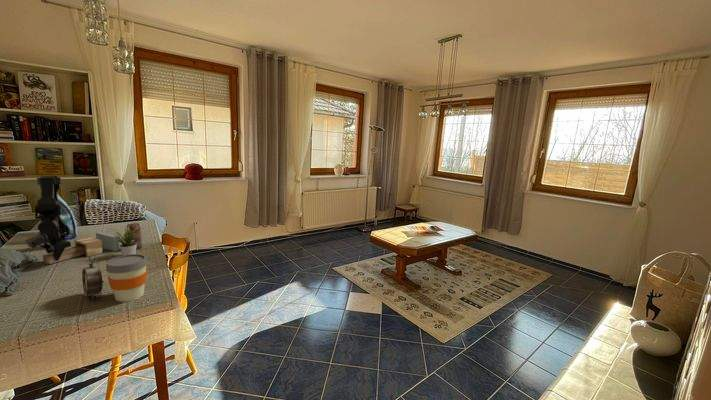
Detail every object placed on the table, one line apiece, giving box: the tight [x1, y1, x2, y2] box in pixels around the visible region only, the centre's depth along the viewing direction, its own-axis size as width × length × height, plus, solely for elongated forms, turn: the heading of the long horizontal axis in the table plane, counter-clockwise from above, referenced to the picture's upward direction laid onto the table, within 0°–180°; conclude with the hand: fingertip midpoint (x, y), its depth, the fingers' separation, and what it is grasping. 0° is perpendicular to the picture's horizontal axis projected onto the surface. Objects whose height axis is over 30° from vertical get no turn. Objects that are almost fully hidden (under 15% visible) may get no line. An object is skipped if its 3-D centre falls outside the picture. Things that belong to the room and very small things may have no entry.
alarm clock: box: [81, 256, 104, 302], centre depth 112 cm, size 11×5×16 cm, turn 49°
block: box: [73, 236, 103, 258], centre depth 153 cm, size 11×6×7 cm, turn 69°
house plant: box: [112, 226, 143, 256], centre depth 152 cm, size 14×14×16 cm
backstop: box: [95, 231, 120, 252], centre depth 161 cm, size 16×2×8 cm, turn 69°
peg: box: [42, 245, 86, 265], centre depth 145 cm, size 4×15×4 cm, turn 166°
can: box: [125, 222, 143, 251], centre depth 163 cm, size 6×6×14 cm
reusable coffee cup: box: [105, 253, 148, 302], centre depth 113 cm, size 13×13×15 cm
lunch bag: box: [38, 193, 79, 239], centre depth 174 cm, size 22×17×26 cm
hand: (54, 259), depth 141 cm, fingers closed on peg, 4 cm apart
